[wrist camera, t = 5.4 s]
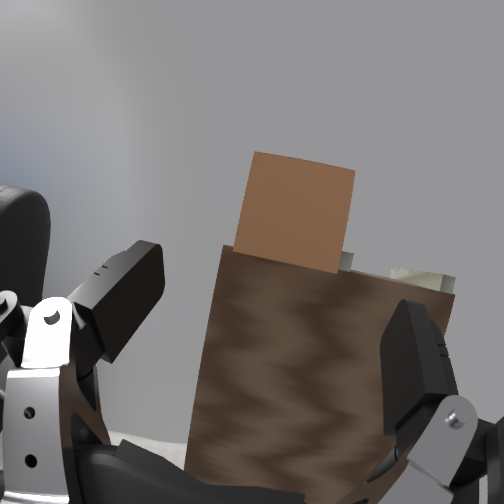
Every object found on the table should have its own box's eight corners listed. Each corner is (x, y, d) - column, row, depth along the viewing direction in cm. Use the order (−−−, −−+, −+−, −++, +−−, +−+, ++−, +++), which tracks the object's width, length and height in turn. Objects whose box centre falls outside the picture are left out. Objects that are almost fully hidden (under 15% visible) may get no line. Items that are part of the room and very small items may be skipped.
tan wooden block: (232, 251, 11) (254, 151, 11) (277, 253, 35) (284, 220, 35) (336, 273, 10) (355, 170, 10) (310, 260, 34) (316, 227, 34)
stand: (176, 524, 20) (227, 227, 19) (205, 469, 32) (254, 237, 31) (321, 552, 17) (458, 278, 17) (320, 492, 29) (404, 270, 29)
